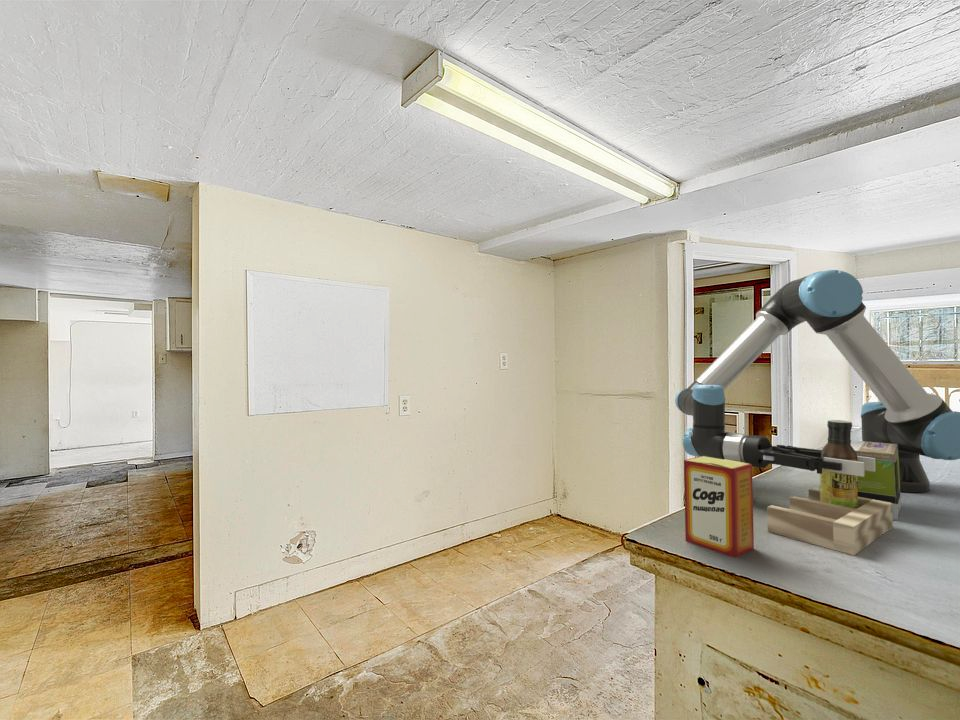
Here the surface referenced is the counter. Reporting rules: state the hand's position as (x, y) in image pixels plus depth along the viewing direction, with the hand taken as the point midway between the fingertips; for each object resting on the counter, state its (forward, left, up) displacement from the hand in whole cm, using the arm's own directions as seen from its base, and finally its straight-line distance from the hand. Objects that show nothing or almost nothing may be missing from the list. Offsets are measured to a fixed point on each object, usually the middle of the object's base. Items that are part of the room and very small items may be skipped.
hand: (869, 467), depth 90 cm
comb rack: (+5, -5, -13) cm, 15 cm away
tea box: (-18, -5, -13) cm, 23 cm away
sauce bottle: (0, -5, -11) cm, 12 cm away
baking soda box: (+31, -15, -13) cm, 37 cm away
